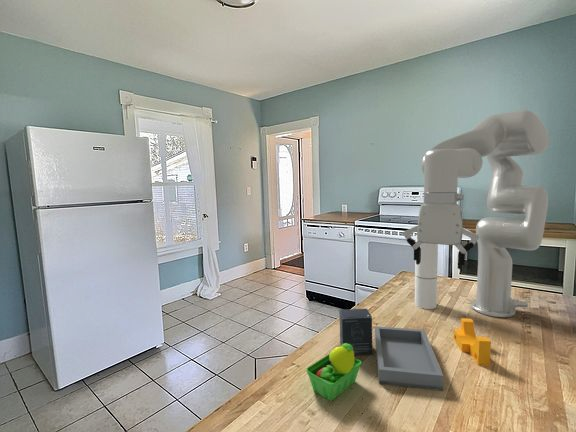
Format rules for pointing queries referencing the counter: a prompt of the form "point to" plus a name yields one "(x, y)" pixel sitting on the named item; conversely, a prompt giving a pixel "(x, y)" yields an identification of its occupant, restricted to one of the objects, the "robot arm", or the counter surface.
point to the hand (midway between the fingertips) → (438, 265)
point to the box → (356, 330)
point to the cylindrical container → (426, 277)
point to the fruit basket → (334, 372)
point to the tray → (406, 359)
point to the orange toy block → (473, 342)
